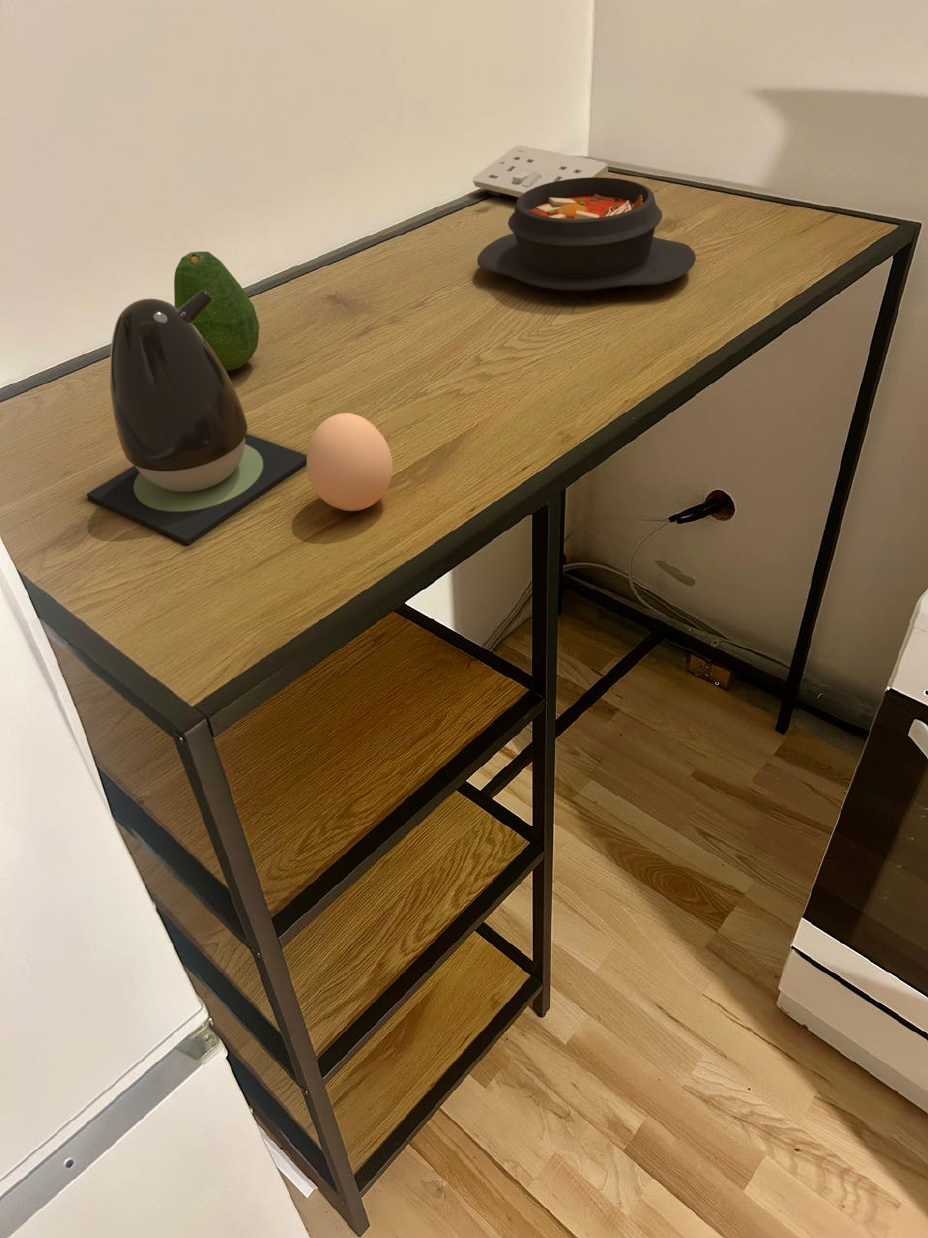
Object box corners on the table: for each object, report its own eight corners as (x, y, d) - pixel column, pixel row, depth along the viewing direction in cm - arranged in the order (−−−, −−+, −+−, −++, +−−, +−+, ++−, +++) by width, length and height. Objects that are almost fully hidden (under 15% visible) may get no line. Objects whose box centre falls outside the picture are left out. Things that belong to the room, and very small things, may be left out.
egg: (389, 529, 71) (375, 439, 66) (307, 528, 72) (286, 440, 67) (404, 481, 76) (392, 395, 71) (326, 481, 77) (309, 395, 72)
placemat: (88, 498, 78) (85, 492, 78) (211, 424, 86) (209, 419, 86) (188, 545, 72) (186, 539, 72) (311, 461, 80) (309, 455, 80)
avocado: (176, 376, 95) (139, 259, 87) (232, 346, 99) (203, 231, 91) (228, 394, 91) (195, 273, 83) (285, 361, 95) (258, 243, 87)
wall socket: (622, 179, 127) (619, 149, 124) (564, 231, 120) (560, 201, 117) (512, 172, 136) (507, 144, 134) (453, 220, 129) (447, 191, 127)
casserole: (710, 251, 108) (718, 175, 103) (671, 316, 96) (677, 234, 90) (512, 237, 117) (509, 166, 111) (452, 295, 104) (446, 219, 99)
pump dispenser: (282, 470, 78) (239, 294, 68) (173, 524, 73) (109, 343, 63) (221, 430, 84) (173, 263, 74) (117, 477, 79) (51, 306, 69)
